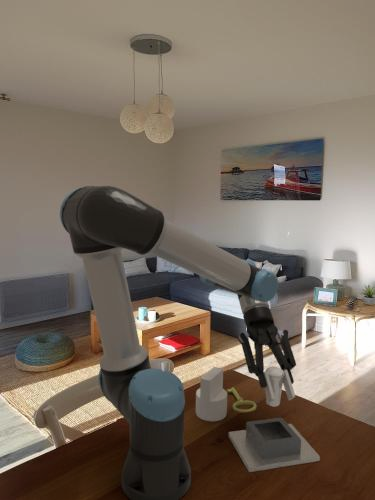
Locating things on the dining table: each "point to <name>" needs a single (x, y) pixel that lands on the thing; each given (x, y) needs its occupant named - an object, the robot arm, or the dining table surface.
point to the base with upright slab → (211, 396)
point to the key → (241, 402)
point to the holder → (271, 445)
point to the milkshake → (275, 384)
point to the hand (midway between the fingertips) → (281, 399)
